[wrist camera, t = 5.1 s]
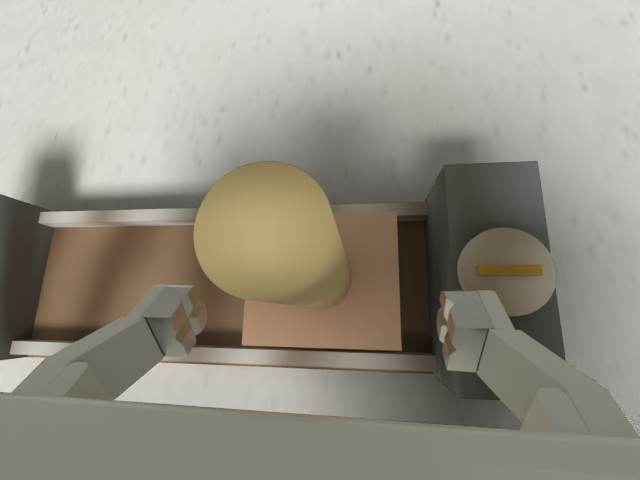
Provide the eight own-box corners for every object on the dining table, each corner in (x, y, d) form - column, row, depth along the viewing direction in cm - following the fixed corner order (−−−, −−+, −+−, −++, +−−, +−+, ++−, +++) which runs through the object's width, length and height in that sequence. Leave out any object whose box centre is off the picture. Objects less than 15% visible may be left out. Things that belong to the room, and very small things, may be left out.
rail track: (482, 209, 21) (547, 152, 14) (498, 372, 19) (585, 409, 12) (29, 219, 26) (-109, 180, 18) (0, 352, 24) (-171, 369, 16)
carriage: (392, 226, 20) (438, 77, 7) (395, 345, 18) (462, 409, 6) (266, 228, 21) (122, 101, 9) (259, 340, 20) (71, 387, 7)
